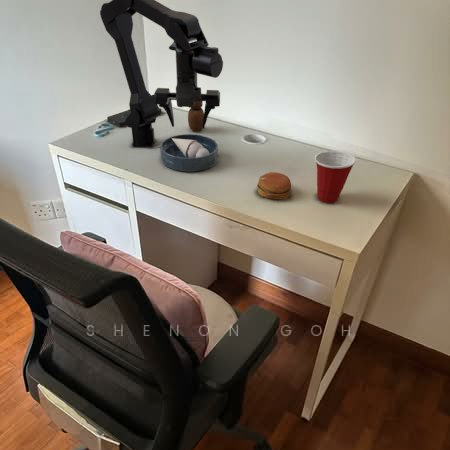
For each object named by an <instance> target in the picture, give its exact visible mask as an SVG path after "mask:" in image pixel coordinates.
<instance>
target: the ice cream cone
mask: <svg viewBox="0 0 450 450" xmlns="http://www.w3.org/2000/svg"><path fill="white" fill-rule="evenodd" d="M172 140H173V141H174V142H175V144H176V145H177V146H178V148H179V149H180V150H181V151H182V153H183V154H184V155H185V157H186V158H195V157H202V156H206V155H208V154H209V151H208V150H207V149H205V148H203V146H202V145H201V144H200V143H198V142H197V141H196V140H187V139H175V138H172Z"/></svg>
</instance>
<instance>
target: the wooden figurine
mask: <svg viewBox="0 0 450 450" xmlns="http://www.w3.org/2000/svg"><path fill="white" fill-rule="evenodd" d="M203 102H204V101H201V102H194V107H192V108H189V109H188V112H187V124H188V128H189V129H190V131H192V132H195V133H197V132H201V131H202V130H204V128H203V118H204V111H205V110H204V109H203V108H202V107H203Z"/></svg>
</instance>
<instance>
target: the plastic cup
mask: <svg viewBox="0 0 450 450" xmlns="http://www.w3.org/2000/svg"><path fill="white" fill-rule="evenodd" d="M314 162H315V164H316V196H317V199H318V200H319V201H320V202H322V203H325V204H334V203H336V202H337V201H338V199H339V198H340V195H341V193H342V192H343V190H344V187H345V185H346V182H347V180H348V177H349V175H350V173H351V171H352V169H353V167H354V165H355V164H356V162H357V158H356V156H355V155H353V154H351V153H348V152H346V151H340V150H327V151H326V150H325V151H321V152H319V153H317V154H316V155H315V156H314Z"/></svg>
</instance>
